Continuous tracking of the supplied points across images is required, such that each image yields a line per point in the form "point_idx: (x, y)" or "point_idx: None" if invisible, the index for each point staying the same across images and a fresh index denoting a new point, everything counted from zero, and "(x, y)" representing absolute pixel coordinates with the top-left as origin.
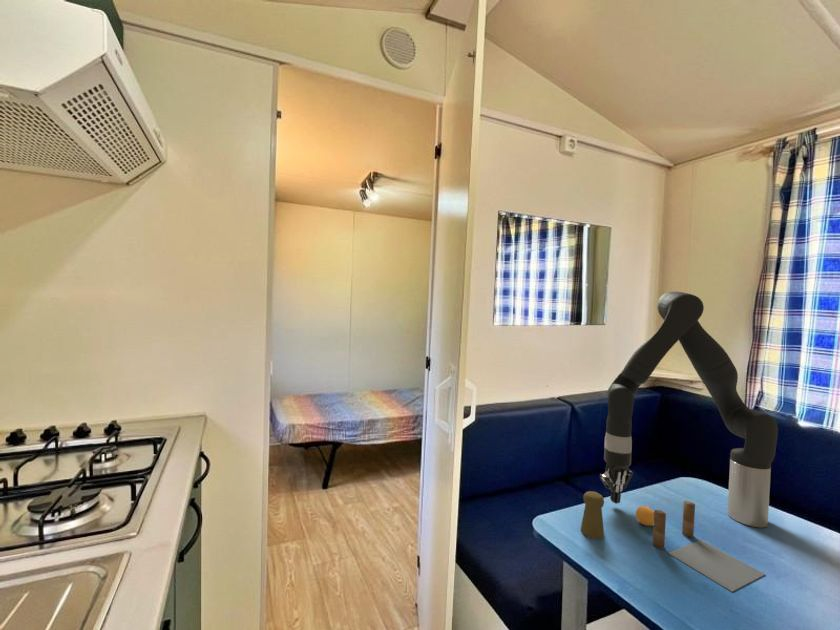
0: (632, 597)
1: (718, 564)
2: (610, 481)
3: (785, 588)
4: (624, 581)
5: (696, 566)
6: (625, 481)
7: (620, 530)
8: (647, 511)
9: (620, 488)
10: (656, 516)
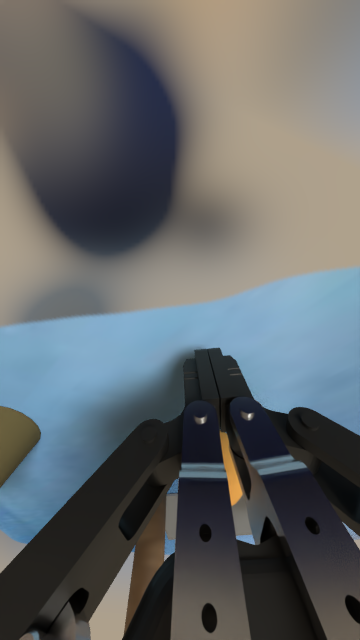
0: (2, 526)
1: None
2: (92, 608)
3: (251, 541)
4: (6, 513)
5: (170, 517)
6: (338, 513)
7: (105, 436)
8: None
9: (238, 460)
10: (125, 622)
